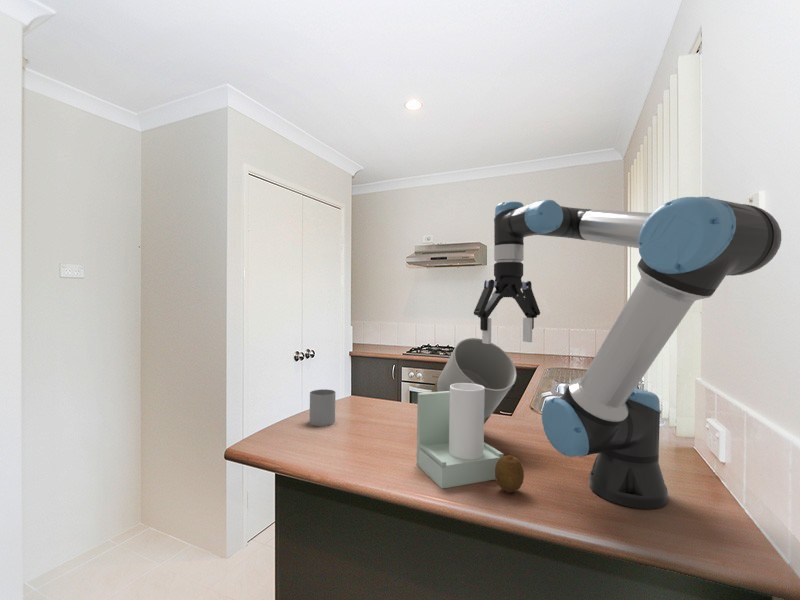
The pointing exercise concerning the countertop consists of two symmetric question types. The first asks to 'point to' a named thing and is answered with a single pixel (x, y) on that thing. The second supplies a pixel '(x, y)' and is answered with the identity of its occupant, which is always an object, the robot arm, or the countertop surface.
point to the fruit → (509, 473)
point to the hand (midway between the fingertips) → (507, 342)
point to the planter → (479, 371)
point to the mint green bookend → (447, 446)
